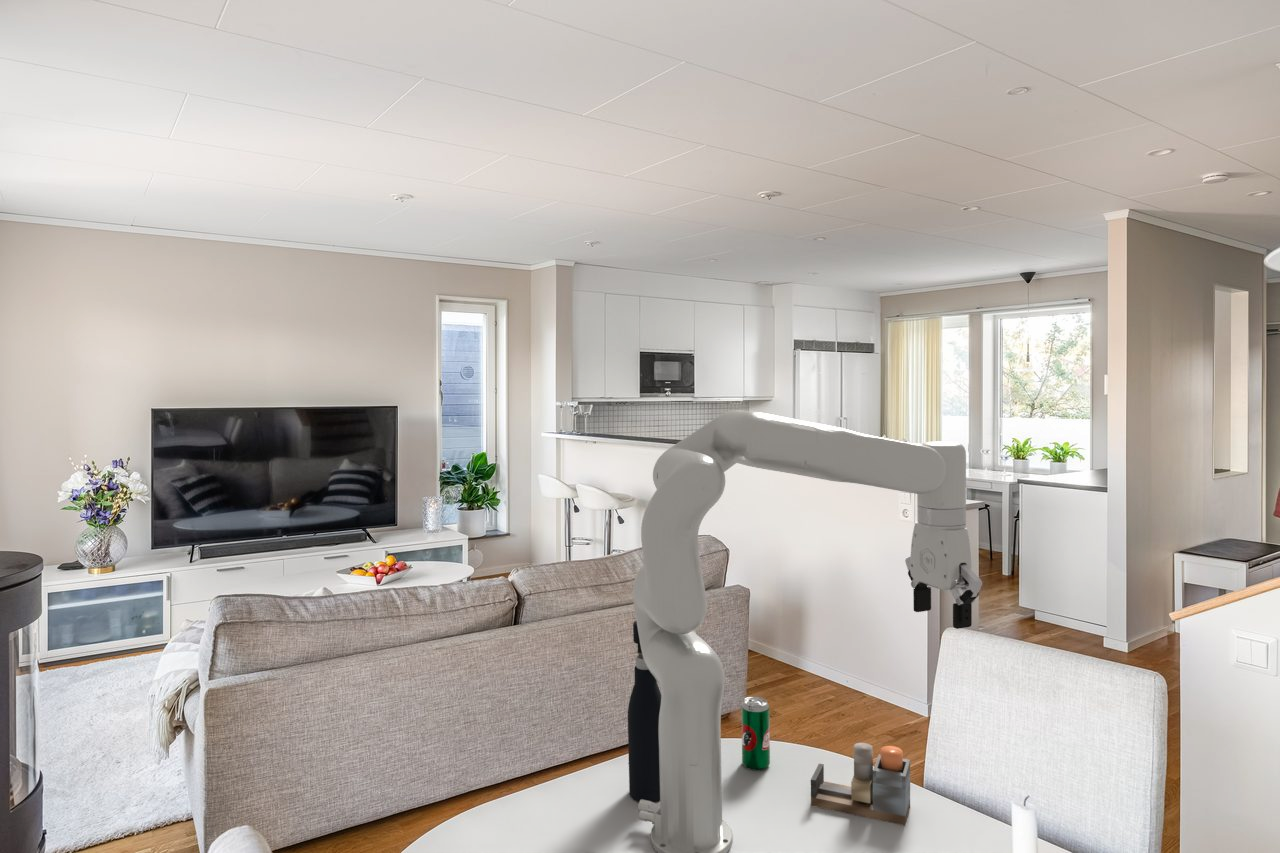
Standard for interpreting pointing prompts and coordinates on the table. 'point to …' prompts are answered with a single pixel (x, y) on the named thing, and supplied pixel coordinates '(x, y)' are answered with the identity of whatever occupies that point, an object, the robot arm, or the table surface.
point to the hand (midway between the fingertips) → (941, 618)
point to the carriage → (862, 773)
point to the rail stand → (885, 802)
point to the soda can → (755, 733)
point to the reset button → (891, 758)
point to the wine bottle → (643, 731)
